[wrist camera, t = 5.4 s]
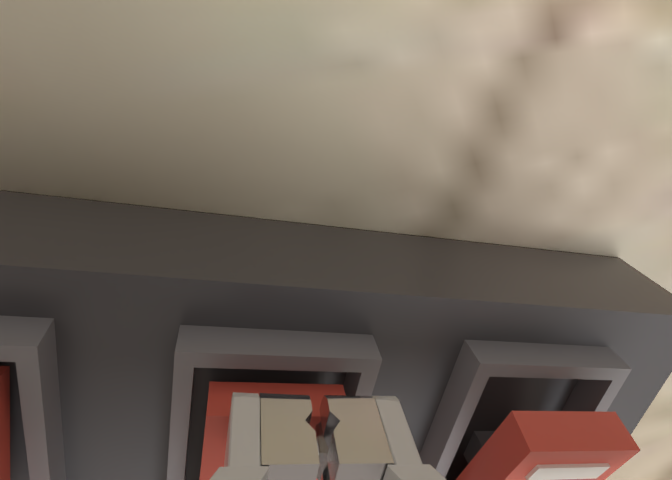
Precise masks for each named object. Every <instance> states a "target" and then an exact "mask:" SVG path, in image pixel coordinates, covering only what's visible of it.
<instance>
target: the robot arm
mask: <svg viewBox="0 0 672 480" xmlns="http://www.w3.org/2000/svg"><path fill="white" fill-rule="evenodd" d="M319 410H320V417H321V421H320V422H319V423H318V424H317V425H316V427H315V430H314V429H313V428H312V427H311V426H310V420H311V416H312V411H313V410H312V404H311V399H310V396H309V395H292V394H271V393H259V394H258V393H239V392H233V394H232V399H231V407H230V415H229V424H228V432H227V441H226V450H225V460H224V467H219V468H218V469H217V471H216V472H215V473H214V474H213V476H212V477H211V478H210V479H209V480H316V478H317V479H318V480H446V479H445V478H444V477H443V476H442V475H441V474H440V473H439V472H438V471H437V470H436V469H434V468H433V467H432V466H431V465H430V464H423V463H422V461H421V458H420V455H419V453H418V450H417V447H416V445H415V442H414V439H413V436H412V434H411V431H410V428H409V426H408V423H407V420H406V418H405V415H404V412H403V409H402V407H401V404H400V401H399V399H398V398H397V397H396V396H345V395H324V397H323V398H322V401H321V405H320V409H319Z"/></svg>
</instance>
